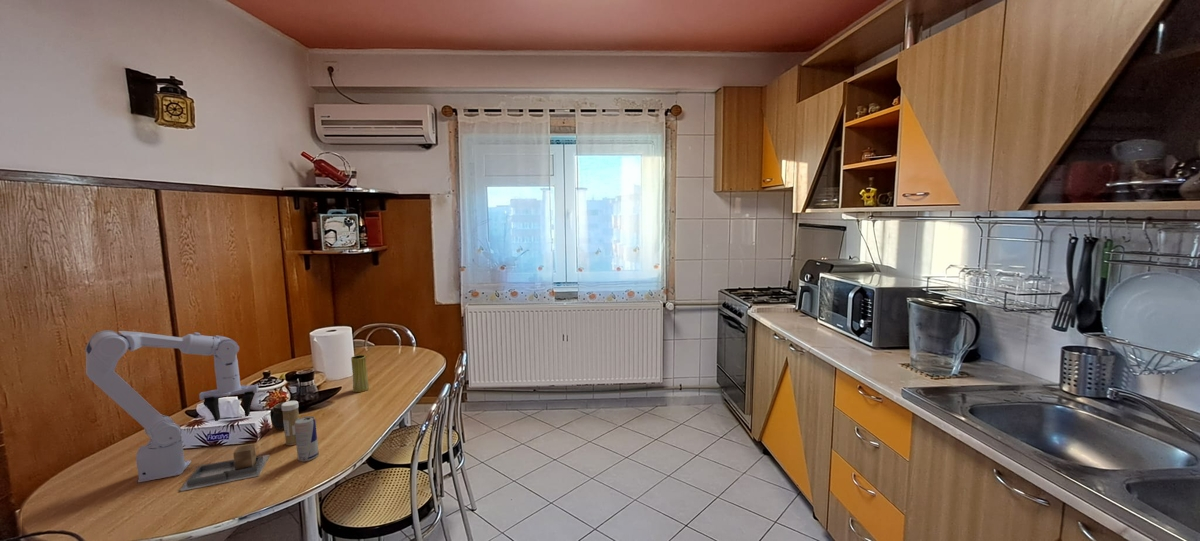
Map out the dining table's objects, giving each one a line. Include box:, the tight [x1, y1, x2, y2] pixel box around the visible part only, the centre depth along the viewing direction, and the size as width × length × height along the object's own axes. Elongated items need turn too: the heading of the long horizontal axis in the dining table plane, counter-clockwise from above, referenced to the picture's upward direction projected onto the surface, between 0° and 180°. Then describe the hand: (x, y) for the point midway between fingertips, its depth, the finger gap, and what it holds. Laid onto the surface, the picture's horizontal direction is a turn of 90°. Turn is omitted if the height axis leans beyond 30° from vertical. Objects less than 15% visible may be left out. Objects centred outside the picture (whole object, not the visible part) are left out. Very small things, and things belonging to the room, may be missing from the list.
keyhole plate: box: [179, 454, 270, 492], centre depth 135 cm, size 18×12×2 cm
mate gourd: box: [271, 396, 297, 430], centre depth 164 cm, size 7×8×10 cm
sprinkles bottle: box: [281, 400, 300, 446], centre depth 152 cm, size 5×5×13 cm
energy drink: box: [295, 415, 319, 463], centre depth 142 cm, size 5×5×12 cm
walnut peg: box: [232, 443, 257, 469], centre depth 136 cm, size 4×4×6 cm
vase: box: [350, 354, 370, 393], centre depth 197 cm, size 6×6×14 cm
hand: (232, 417), depth 148 cm, fingers open, 7 cm apart
